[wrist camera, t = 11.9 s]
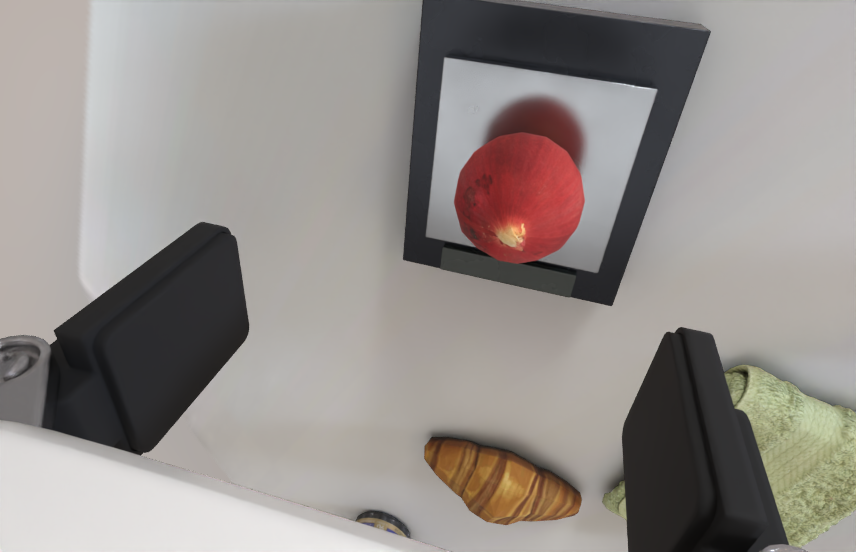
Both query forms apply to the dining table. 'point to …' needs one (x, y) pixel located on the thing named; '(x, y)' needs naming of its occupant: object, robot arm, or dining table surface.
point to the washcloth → (793, 453)
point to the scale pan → (546, 116)
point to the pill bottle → (383, 523)
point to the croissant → (500, 482)
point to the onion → (519, 197)
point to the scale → (561, 51)
